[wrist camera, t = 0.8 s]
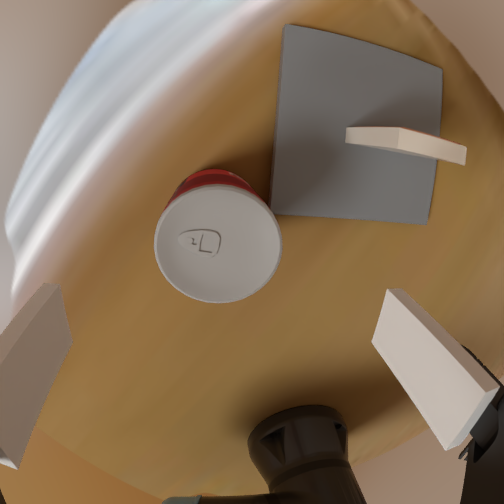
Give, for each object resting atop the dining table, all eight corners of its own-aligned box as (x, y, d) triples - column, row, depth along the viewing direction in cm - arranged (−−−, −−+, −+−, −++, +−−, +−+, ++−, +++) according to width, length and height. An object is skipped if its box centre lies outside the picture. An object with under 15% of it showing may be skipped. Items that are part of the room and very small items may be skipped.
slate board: (420, 222, 33) (426, 225, 32) (267, 211, 30) (270, 214, 29) (436, 70, 27) (442, 69, 26) (282, 27, 24) (285, 23, 23)
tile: (405, 154, 29) (464, 165, 20) (345, 142, 28) (397, 148, 19) (407, 138, 28) (467, 145, 20) (346, 125, 27) (399, 125, 19)
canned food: (168, 171, 28) (145, 191, 17) (256, 165, 29) (283, 181, 18) (175, 250, 30) (162, 308, 20) (258, 244, 31) (283, 299, 21)
